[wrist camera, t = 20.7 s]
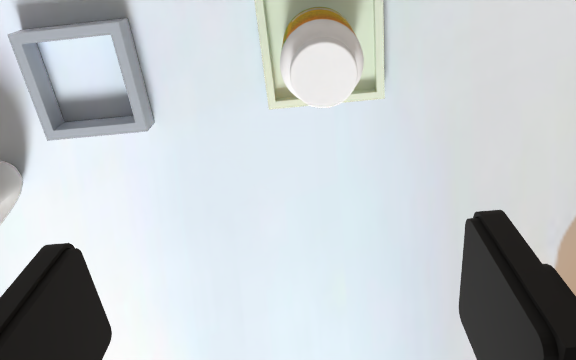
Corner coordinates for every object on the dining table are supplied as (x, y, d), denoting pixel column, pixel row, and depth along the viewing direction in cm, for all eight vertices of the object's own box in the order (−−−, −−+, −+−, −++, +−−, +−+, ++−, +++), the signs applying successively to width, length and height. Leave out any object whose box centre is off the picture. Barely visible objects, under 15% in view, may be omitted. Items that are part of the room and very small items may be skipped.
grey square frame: (21, 29, 36) (7, 34, 34) (127, 17, 36) (118, 22, 34) (58, 131, 40) (47, 140, 38) (154, 122, 40) (147, 131, 38)
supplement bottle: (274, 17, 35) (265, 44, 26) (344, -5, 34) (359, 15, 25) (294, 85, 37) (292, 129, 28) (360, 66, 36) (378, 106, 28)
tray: (254, -16, 34) (252, -14, 33) (379, -30, 33) (382, -29, 32) (270, 103, 38) (269, 109, 37) (381, 92, 38) (384, 98, 36)
